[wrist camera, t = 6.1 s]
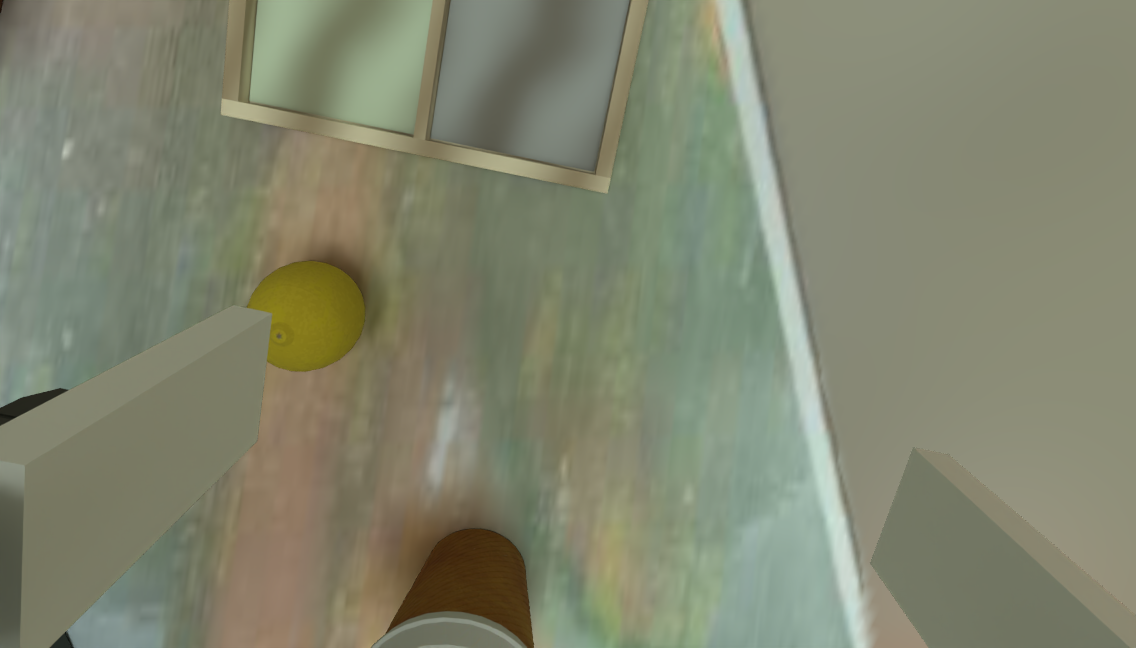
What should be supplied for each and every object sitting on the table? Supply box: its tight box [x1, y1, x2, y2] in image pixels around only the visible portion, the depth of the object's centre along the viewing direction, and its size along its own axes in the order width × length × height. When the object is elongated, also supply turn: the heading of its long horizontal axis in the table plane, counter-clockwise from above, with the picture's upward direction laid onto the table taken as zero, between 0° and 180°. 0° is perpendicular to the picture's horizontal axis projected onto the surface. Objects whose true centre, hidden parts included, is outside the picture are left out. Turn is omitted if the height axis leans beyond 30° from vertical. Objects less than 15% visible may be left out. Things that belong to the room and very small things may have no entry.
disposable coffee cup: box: [371, 529, 534, 648], centre depth 40 cm, size 10×10×12 cm
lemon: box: [247, 261, 365, 372], centre depth 38 cm, size 6×6×8 cm
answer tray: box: [221, 0, 648, 193], centre depth 37 cm, size 20×12×2 cm, turn 79°
